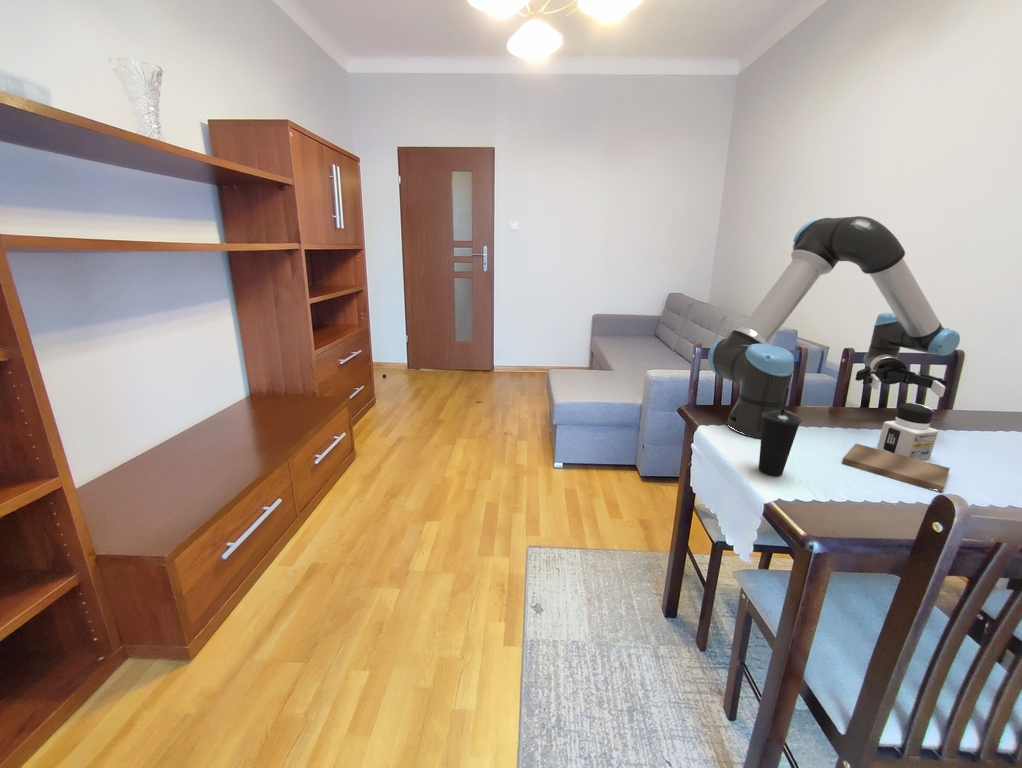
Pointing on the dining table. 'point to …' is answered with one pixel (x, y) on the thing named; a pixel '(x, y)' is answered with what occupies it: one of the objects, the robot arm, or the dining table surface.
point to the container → (909, 432)
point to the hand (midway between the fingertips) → (908, 388)
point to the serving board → (897, 467)
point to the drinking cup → (777, 438)
